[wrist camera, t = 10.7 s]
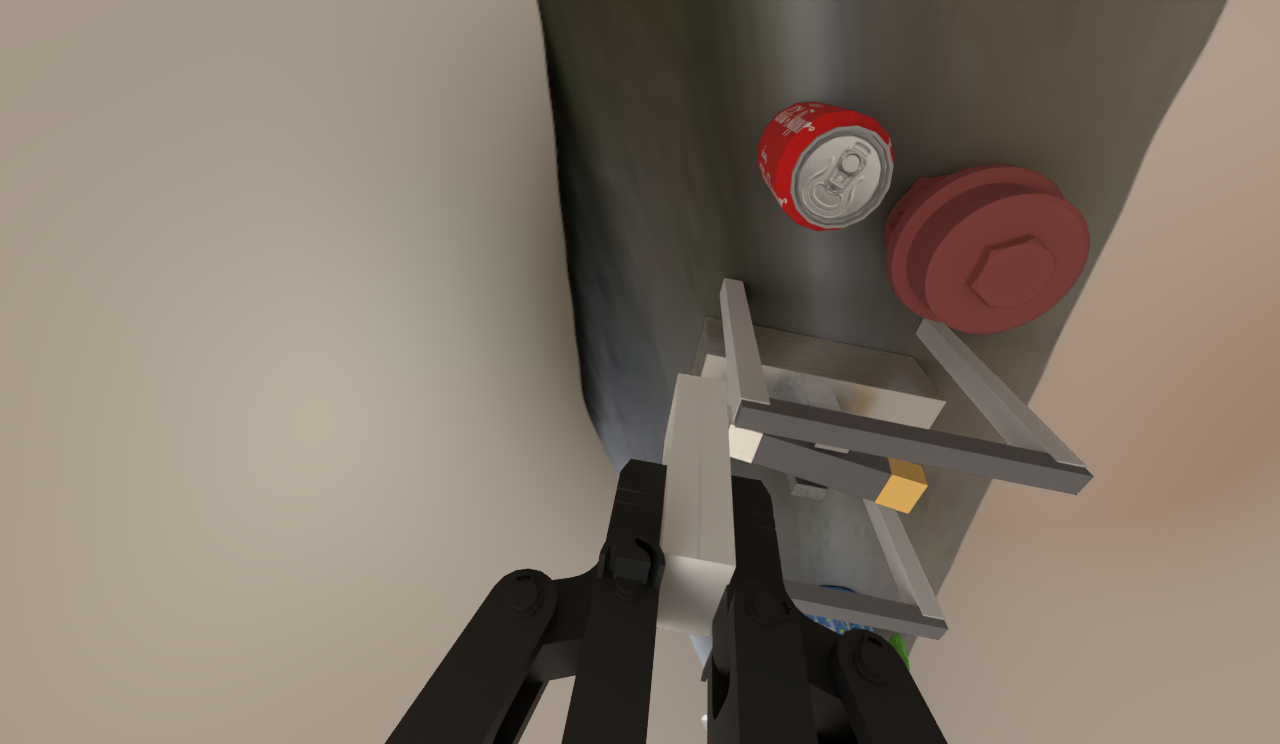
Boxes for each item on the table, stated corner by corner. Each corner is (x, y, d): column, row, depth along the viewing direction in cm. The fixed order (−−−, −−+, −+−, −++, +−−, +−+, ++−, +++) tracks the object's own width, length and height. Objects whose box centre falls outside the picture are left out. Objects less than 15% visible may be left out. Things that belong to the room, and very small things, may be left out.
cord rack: (724, 277, 41) (741, 405, 25) (942, 321, 41) (1095, 475, 25) (682, 426, 50) (676, 589, 34) (861, 461, 50) (938, 640, 34)
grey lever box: (705, 315, 43) (708, 394, 32) (912, 356, 43) (982, 448, 32) (683, 397, 48) (680, 488, 37) (869, 434, 48) (917, 535, 37)
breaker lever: (733, 408, 37) (730, 424, 35) (921, 466, 35) (927, 485, 33) (724, 437, 38) (720, 453, 37) (903, 493, 36) (908, 513, 35)
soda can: (805, 209, 37) (846, 259, 27) (739, 166, 36) (755, 202, 26) (863, 131, 34) (933, 155, 24) (792, 82, 33) (834, 85, 23)
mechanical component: (889, 137, 34) (1027, 162, 34) (837, 268, 40) (956, 290, 40) (974, 164, 24) (1171, 200, 24) (887, 338, 29) (1048, 368, 29)
